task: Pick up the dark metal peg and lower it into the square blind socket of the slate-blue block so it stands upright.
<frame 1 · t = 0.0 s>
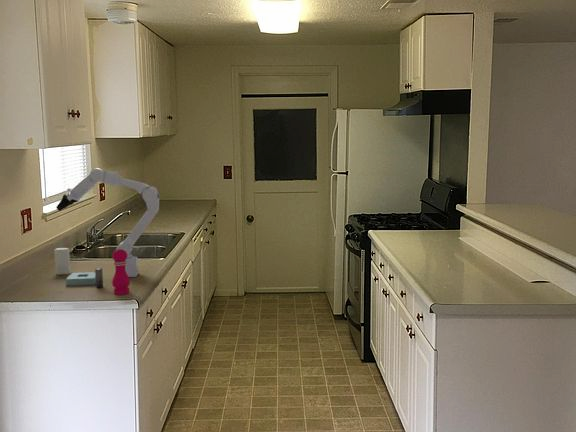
hand: (59, 208, 285), 32 cm above the countertop, tool tilted 50°, fingers open, 7 cm apart
pepper mill: (121, 293, 262), on the countertop
socket block: (83, 282, 281), on the countertop
skincare box: (63, 274, 297), on the countertop
metal peg: (99, 287, 272), on the countertop
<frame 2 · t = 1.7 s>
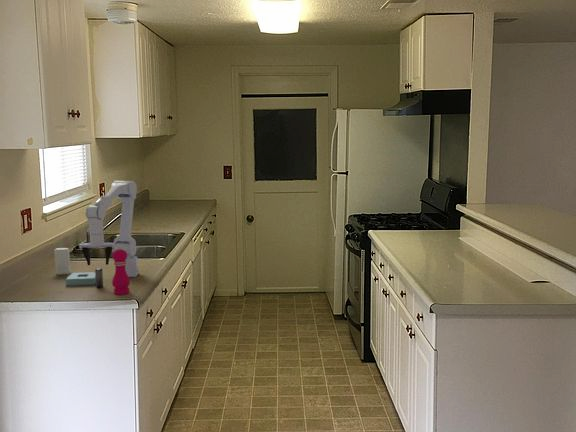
hand: (98, 264, 270), 10 cm above the countertop, tool pointing down, fingers open, 7 cm apart
nothing on the countertop moved.
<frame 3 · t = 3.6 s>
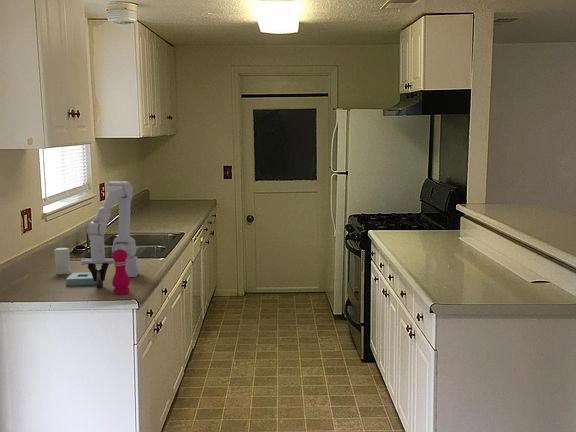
hand: (99, 280, 271), 3 cm above the countertop, tool pointing down, fingers closed on metal peg, 3 cm apart
metal peg: (99, 287, 272), on the countertop, touching gripper
everything else where it was.
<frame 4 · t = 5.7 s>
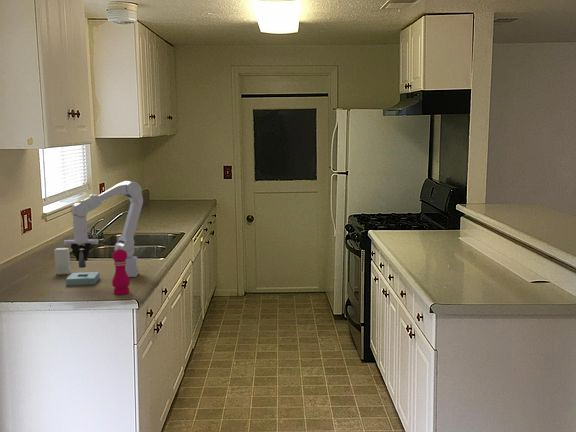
hand: (82, 260, 279), 10 cm above the countertop, tool pointing down, fingers closed on metal peg, 3 cm apart
metal peg: (82, 266, 280), point 7 cm above the countertop, touching gripper
everything else where it was.
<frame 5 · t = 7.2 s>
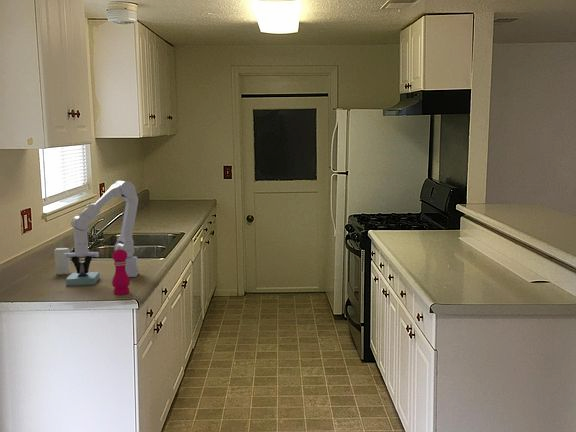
hand: (82, 273, 280), 4 cm above the countertop, tool pointing down, fingers closed on metal peg, 3 cm apart
metal peg: (83, 279, 280), point 1 cm above the countertop, touching gripper
everything else where it was.
when the fingers open (4 cm above the countertop, at t = 8.1 s): metal peg stays where it is, resting on socket block.
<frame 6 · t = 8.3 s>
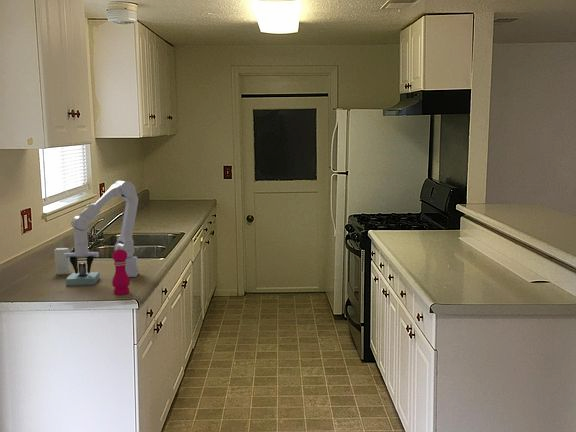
hand: (82, 273, 280), 4 cm above the countertop, tool pointing down, fingers open, 5 cm apart
metal peg: (83, 281, 281), point 1 cm above the countertop, touching socket block
everything else where it was.
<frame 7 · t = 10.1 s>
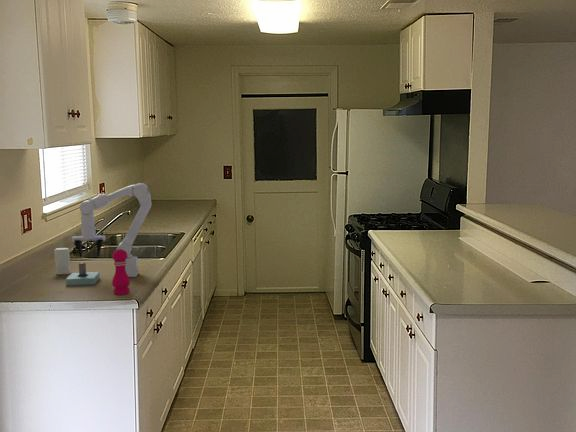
hand: (89, 256, 288), 10 cm above the countertop, tool pointing down, fingers open, 7 cm apart
nothing on the countertop moved.
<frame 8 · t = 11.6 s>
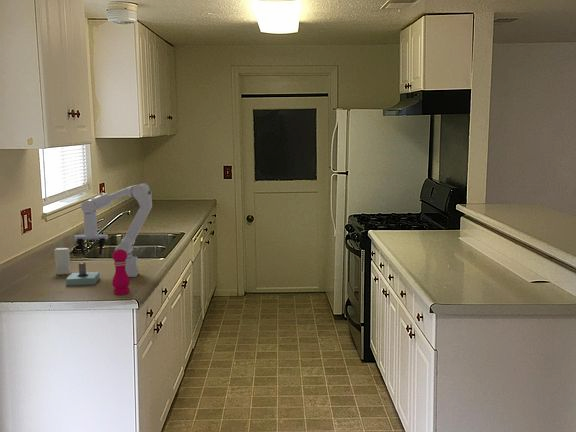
hand: (92, 254, 291), 10 cm above the countertop, tool pointing down, fingers open, 7 cm apart
nothing on the countertop moved.
at the end: metal peg 0.2 cm off-centre on the socket block, point 0.5 cm above the socket block's base; metal peg tilted 1°; the gripper is holding nothing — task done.
